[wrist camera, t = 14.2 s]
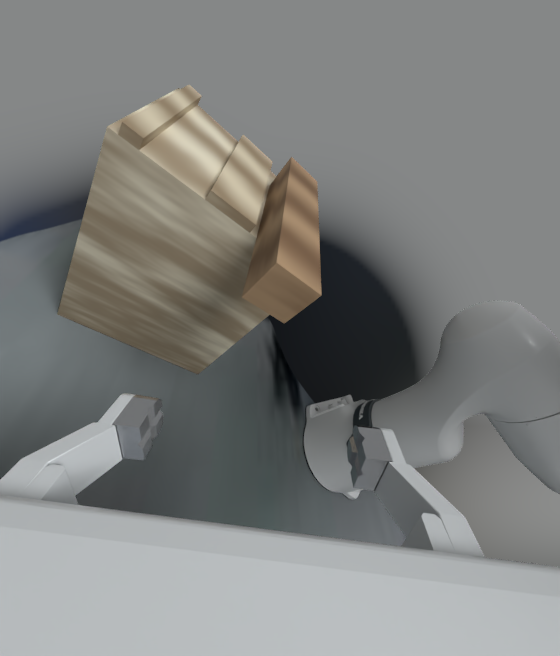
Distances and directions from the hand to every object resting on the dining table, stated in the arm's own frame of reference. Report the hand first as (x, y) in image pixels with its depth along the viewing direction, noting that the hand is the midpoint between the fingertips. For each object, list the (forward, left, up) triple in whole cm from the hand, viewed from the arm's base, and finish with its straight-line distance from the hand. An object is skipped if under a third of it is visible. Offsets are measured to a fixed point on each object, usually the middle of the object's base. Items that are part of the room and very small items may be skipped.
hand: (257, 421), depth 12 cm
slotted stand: (-14, -22, -29) cm, 39 cm away
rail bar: (-14, -14, -3) cm, 20 cm away
